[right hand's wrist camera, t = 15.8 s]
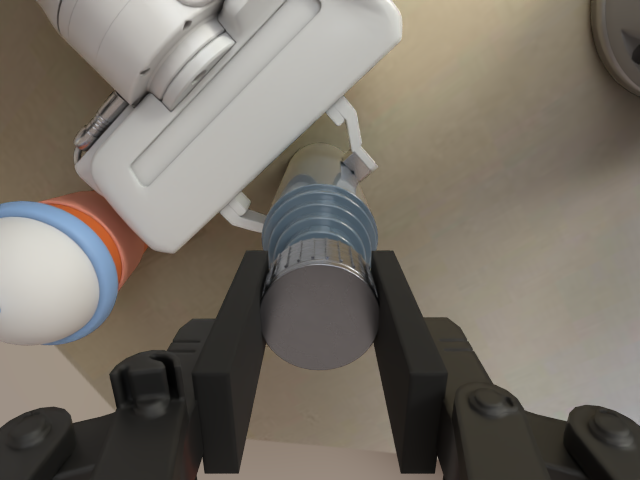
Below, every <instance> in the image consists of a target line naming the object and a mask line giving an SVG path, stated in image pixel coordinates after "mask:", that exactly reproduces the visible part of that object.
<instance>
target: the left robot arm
mask: <svg viewBox="0 0 640 480" xmlns="http://www.w3.org/2000/svg"><path fill="white" fill-rule="evenodd" d="M35 1H36V2H37V3H38V4H39V5H40V7H41V8H42V9H43V11H44V12H45V14H46V16H47V18H48V19H49V21H50V23H51V24H52V26H53V27H54V28H55V30H56V31H57V32H58V34H59V35H60V36H61V37H62V38H63V39H64V40H65V41H66V42H67V43H68V44H69V45H70V46H71V47H72V48H73V49H74V50H75V51H76V52H77V53H78V54H79V55H80V56H81V57H82V58H83V59H84V60H85V61H86V62H87V63H88V64H89V65H90V66H91V67H92V68H93V69H95V70H96V71H97V72H98V73H99V74H100V76H101V77H102V78H103V79H104V80H105V81H107V82H108V83H109V84H110V85H111V86H112V87H113V88H114V89H115V91H113V92H112V93H111V95H110V96H109V97H108V99H107V100H106V101H105V102H104V103H103V104H102V105H101V107H100V108H99V109H98V111H97V113H96V114H95V116H94V117H93V118H92V120H91V121H90V122H89V123H88V124H87V125H85V126H83V127H82V128H81V129H80V130H79V132H78V133H77V134H76V136H75V138H74V140H73V143H74V145H75V146H76V147H75V150H74V155H73V159H74V164H75V170H76V172H77V174H78V175H79V176H80V178H81V179H82V180H84V181H85V182H86V183H87V184H88V185H89V186H90V187H91V188H92V189H94V190H95V191H96V192H97V193H98V194H100V195H101V196H103V197H104V198H105V199H106V200H107V201H108V203H109V204H110V205H111V206H112V208H113V209H114V210H115V211H116V212H117V214H118V215H119V216H120V217H121V218H122V219H123V220H124V221H125V223H126V224H127V225H128V226H129V227H130V228H131V229H132V230H133V231H134V232H135V233H136V234H137V235H138V236H139V237H140V238H141V239H142V240H143V241H144V242H145V243H146V244H147V245H148V246H149V247H150V248H151V249H153V250H155V251H158V252H164V253H171V254H173V253H176V252H177V251H178V250H179V249H180V248H181V247H182V246H183V245H184V244H185V243H187V242H188V241H189V240H190V239H191V238H192V237H193V236H194V235H195V234H196V233H197V232H198V231H199V230H200V229H201V228H202V227H204V226H205V225H206V224H207V223H208V222H209V221H210V220H211V219H212V218H213V217H214V216H215V215H216V214H217V213H218V212H219V213H220V214H221V215H222V216H223V217H224V218H225V219H226V220H227V221H228V222H229V223H230V224H231V225H233V226H237V227H241V228H244V229H248V230H251V231H255V232H259V233H262V229H263V224H264V222H265V219H266V216H267V215H264V214H261V213H258V212H255V211H253V210H250V209H248V208H249V206H250V204H251V201H250V200H249V199H248V198H247V197H246V196H245V195H244V194H243V192H242V190H243V189H244V188H245V187H246V186H247V185H248V184H249V183H250V182H251V181H252V180H254V179H255V178H256V177H257V176H258V175H259V174H260V173H261V172H262V171H263V170H264V169H265V168H266V167H267V166H268V165H270V164H271V163H272V162H273V161H274V160H275V159H276V158H277V157H278V156H279V155H280V154H281V153H282V152H283V151H284V150H285V149H287V148H288V147H289V146H290V145H291V144H292V143H293V142H294V141H295V140H296V139H297V138H298V137H299V136H300V135H301V134H302V133H304V132H305V131H306V130H307V129H308V128H309V127H310V126H311V125H312V124H313V123H314V122H315V121H316V120H317V119H318V118H319V117H321V116H322V115H323V114H324V113H326V114H327V115H328V116H329V117H330V118H331V119H332V121H333V122H334V123H335V124H336V125H337V126H340V125H341V124H342V123H343V122H344V120H345V125H346V130H347V135H348V141H349V146H350V150H349V151H348V152H347V153H346V154H345V155H344V156H342V157H341V159H342V162H343V163H344V164H345V165H346V167H347V168H349V169H350V170H351V171H353V173H354V175H355V176H356V178H357V179H358V180H359V181H360V182H361V181H363V180H364V179H365V178H366V177H367V176H368V175H370V174H371V173H372V172H373V171H374V170H375V169H377V168H378V165H377V164H376V163H375V162H374V160H373V159H372V158H371V157H370V156H369V154H368V153H367V152H366V151H365V150H364V148H363V147H362V146H361V145H362V141H361V135H360V129H359V123H358V117H357V112H356V110H355V109H354V108H353V106H352V105H351V104H350V103H349V102H348V100H347V99H346V98H345V97H344V94H345V93H346V92H347V91H348V90H349V89H350V88H351V87H352V86H354V85H355V84H356V83H357V82H358V81H359V80H360V79H361V78H362V77H363V76H364V75H365V74H366V73H367V72H368V71H369V70H371V69H372V68H373V67H374V66H375V65H376V64H377V63H378V62H379V61H380V60H381V59H382V58H383V57H384V56H385V55H386V54H388V53H389V52H390V51H391V50H392V49H393V48H394V47H395V46H396V45H397V44H398V43H399V42H400V41H401V39H402V16H401V13H400V11H399V9H398V8H397V7H396V5H395V4H394V2H393V1H392V0H35ZM82 151H87V152H86V153H85V154H84V155H83V157H82V158H81V153H82Z"/></svg>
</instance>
